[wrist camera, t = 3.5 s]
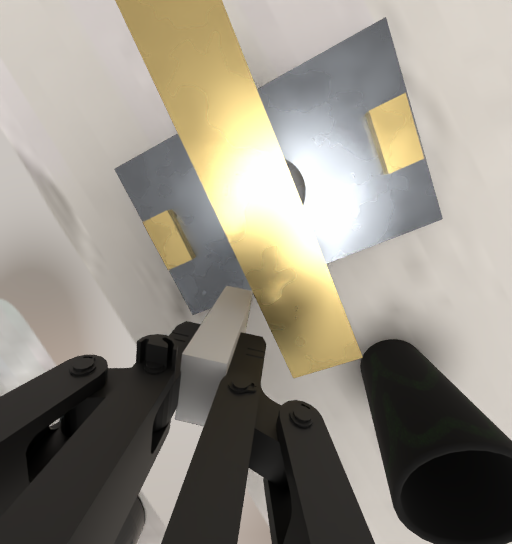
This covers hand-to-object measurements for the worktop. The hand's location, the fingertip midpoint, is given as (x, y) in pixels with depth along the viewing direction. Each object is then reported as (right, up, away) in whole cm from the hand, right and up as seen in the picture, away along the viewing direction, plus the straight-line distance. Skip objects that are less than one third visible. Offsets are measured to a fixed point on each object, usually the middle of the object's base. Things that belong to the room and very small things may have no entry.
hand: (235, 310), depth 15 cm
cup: (+14, -7, +11) cm, 19 cm away
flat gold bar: (+2, +7, +1) cm, 7 cm away
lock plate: (+3, +9, +8) cm, 12 cm away
